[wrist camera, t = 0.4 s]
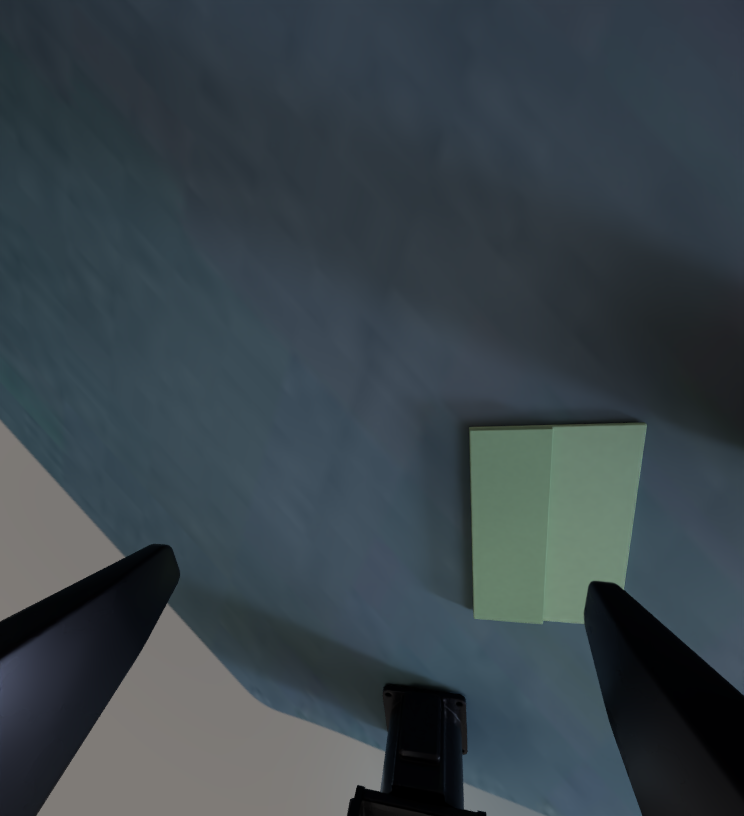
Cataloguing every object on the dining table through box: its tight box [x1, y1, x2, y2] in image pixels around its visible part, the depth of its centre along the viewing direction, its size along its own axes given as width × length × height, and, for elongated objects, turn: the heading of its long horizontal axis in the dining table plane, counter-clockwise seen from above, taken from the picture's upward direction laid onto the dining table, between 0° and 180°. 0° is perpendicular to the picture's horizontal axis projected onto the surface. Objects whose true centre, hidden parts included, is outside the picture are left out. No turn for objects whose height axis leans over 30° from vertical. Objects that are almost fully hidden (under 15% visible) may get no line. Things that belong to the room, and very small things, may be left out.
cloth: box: [469, 423, 647, 624], centre depth 22 cm, size 14×9×1 cm, turn 6°
